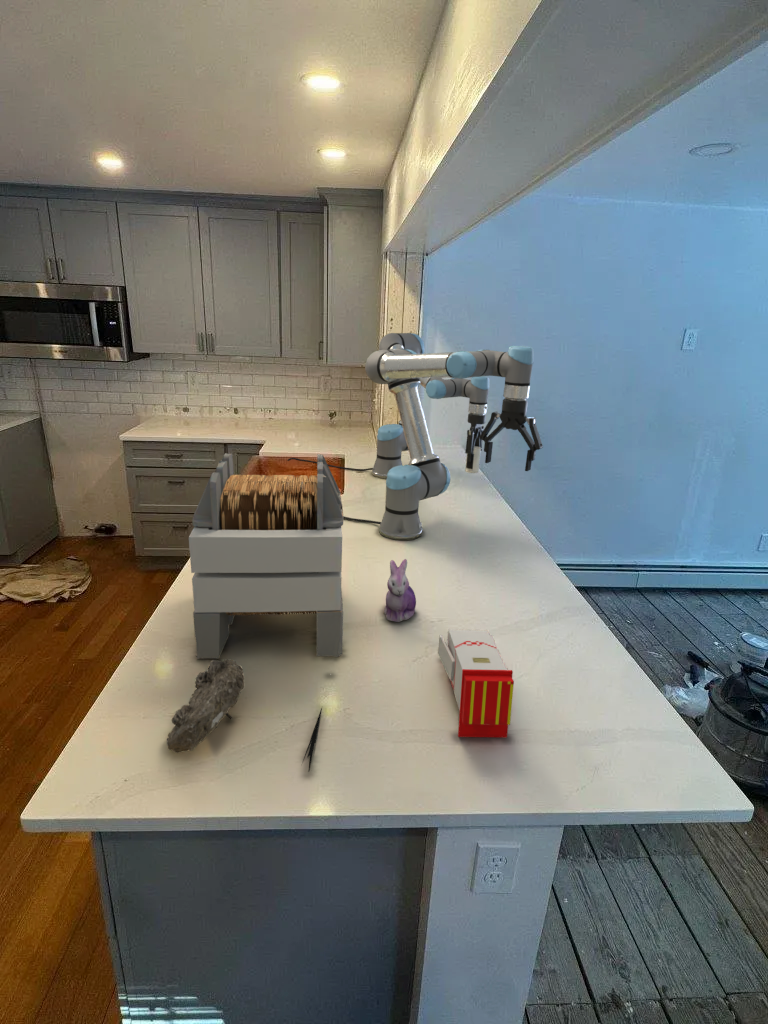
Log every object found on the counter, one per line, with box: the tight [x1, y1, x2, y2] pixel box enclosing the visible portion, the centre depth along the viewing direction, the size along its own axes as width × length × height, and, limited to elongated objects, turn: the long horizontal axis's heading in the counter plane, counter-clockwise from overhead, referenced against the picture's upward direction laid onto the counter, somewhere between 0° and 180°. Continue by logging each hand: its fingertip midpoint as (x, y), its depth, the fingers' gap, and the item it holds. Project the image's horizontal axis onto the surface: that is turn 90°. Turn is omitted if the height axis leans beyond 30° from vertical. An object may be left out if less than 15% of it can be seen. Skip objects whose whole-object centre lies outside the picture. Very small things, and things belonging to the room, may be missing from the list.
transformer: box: [188, 452, 345, 660], centre depth 135 cm, size 34×33×41 cm
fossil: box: [166, 658, 245, 754], centre depth 106 cm, size 22×10×15 cm
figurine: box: [384, 558, 417, 623], centre depth 145 cm, size 9×10×15 cm
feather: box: [301, 673, 332, 771], centre depth 108 cm, size 2×28×2 cm
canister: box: [464, 446, 482, 474], centre depth 245 cm, size 6×6×11 cm
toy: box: [437, 628, 515, 738], centre depth 117 cm, size 12×13×30 cm
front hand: (507, 466), depth 180 cm, fingers open, 13 cm apart
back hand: (472, 466), depth 247 cm, fingers closed on canister, 6 cm apart
